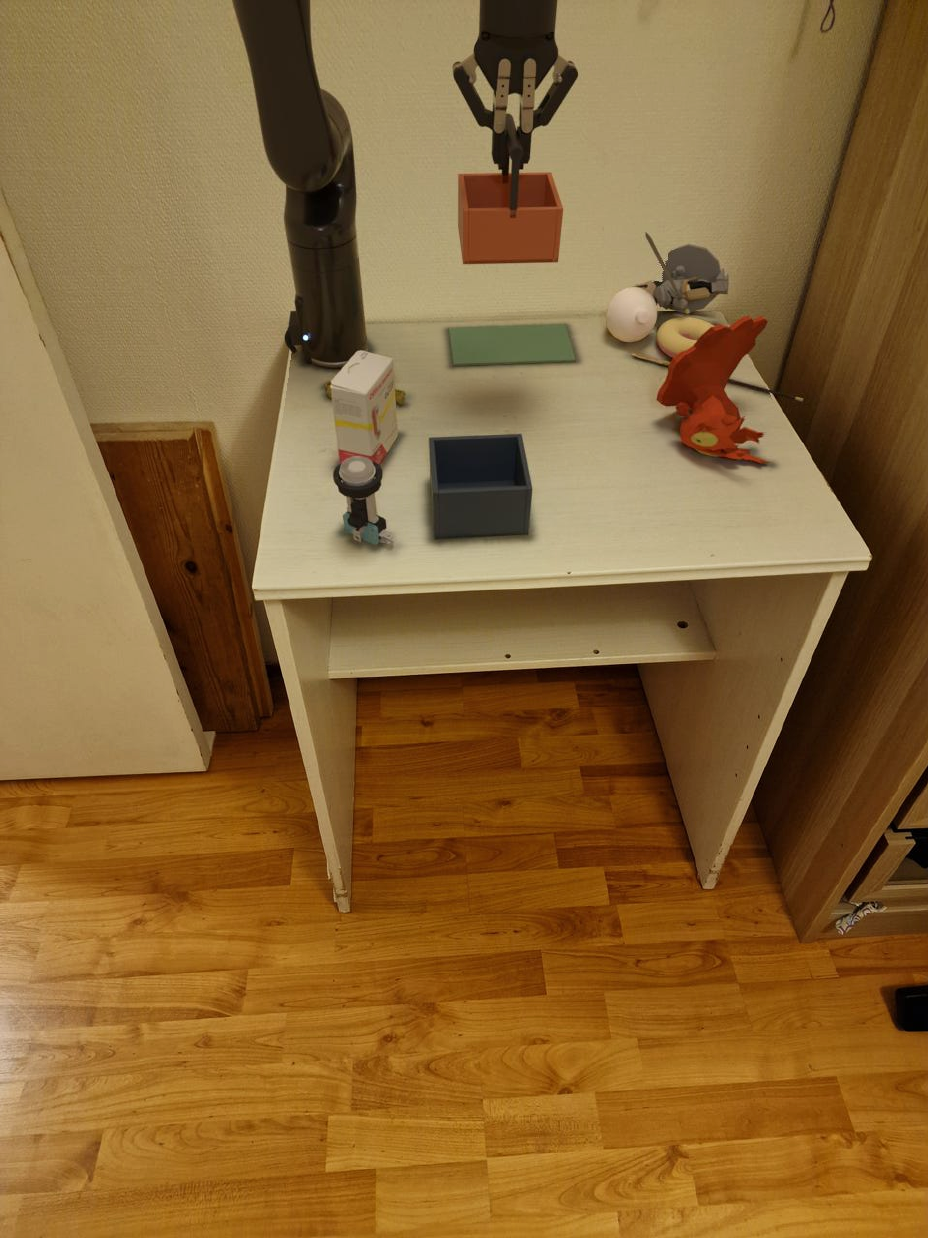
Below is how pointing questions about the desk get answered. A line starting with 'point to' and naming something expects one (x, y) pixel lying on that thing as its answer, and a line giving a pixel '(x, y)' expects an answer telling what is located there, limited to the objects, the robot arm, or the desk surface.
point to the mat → (510, 345)
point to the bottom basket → (479, 486)
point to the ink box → (365, 407)
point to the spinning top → (631, 314)
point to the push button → (362, 499)
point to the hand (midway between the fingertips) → (509, 166)
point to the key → (398, 393)
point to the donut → (680, 334)
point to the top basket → (509, 212)
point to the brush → (728, 380)
